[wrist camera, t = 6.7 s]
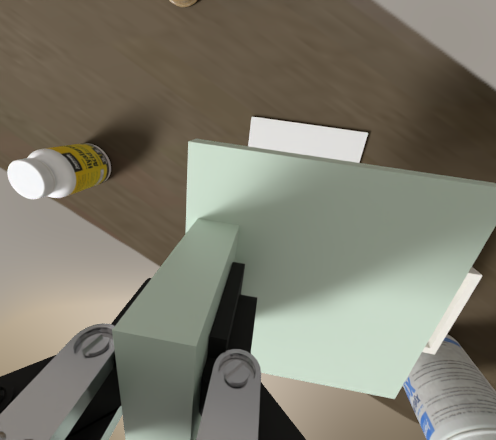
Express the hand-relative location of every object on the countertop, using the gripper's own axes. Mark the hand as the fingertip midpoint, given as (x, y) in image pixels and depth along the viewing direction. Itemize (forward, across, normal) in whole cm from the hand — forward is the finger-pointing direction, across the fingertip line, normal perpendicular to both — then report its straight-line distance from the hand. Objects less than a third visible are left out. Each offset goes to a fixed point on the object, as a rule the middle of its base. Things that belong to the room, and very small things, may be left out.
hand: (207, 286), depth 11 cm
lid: (+2, -4, 0) cm, 5 cm away
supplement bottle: (+23, +22, +2) cm, 32 cm away
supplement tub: (+22, -29, +23) cm, 43 cm away
